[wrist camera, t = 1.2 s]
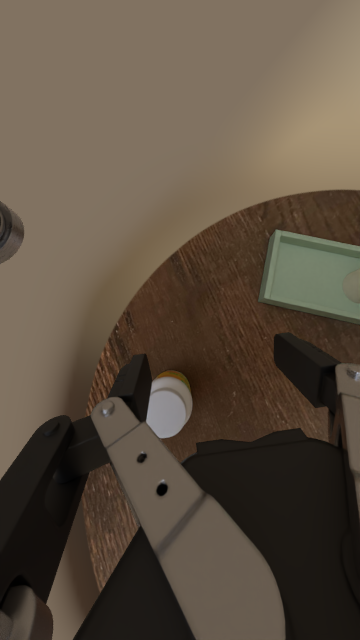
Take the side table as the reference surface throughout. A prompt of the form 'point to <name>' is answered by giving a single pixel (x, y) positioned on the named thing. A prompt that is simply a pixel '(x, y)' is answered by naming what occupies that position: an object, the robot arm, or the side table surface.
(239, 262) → the side table surface
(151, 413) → the supplement bottle
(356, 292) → the beige upright cylinder
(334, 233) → the side table surface
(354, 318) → the tray
